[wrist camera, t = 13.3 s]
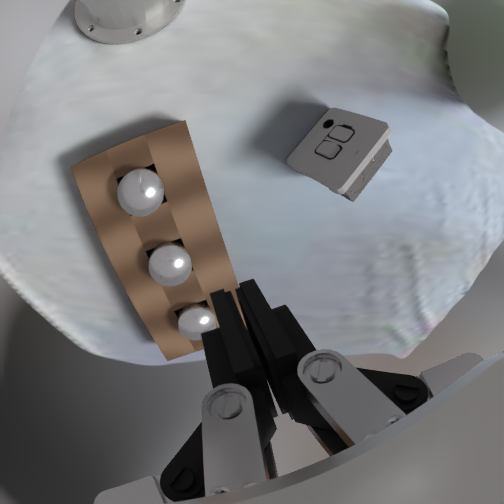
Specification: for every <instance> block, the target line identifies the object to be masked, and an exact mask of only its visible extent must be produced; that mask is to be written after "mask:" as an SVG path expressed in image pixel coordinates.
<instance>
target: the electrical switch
mask: <svg viewBox="0 0 504 504" xmlns="http://www.w3.org/2000/svg"><path fill="white" fill-rule="evenodd" d="M391 133H392V131H391V129H390V127H389V125H388V124H387V123H386V122H383V121H380V120H376V119H373V118H370V117H367V116H363V115H360V114H356V113H353V112H349V111H345V110H342V109H338V108H332V109H329V110H328V111H327V112H326V113H325V114H324V115H323V117H322V118H321V119H320V120H319V121H318V122H317V124H316V125H315V126H314V127H313V128H312V129H311V131H310V132H309V133H308V134H307V135H306V136H305V138H304V139H303V140H302V141H301V142H300V144H299V145H298V146H297V147H296V148H295V149H294V151H293V152H292V153H291V154H290V155H289V157H288V158H287V164H288V165H289V166H290V167H291V168H292V169H294V170H296V171H298V172H300V173H302V174H304V175H306V176H308V177H310V178H312V179H314V180H316V181H318V182H320V183H321V184H323V185H325V186H327V187H328V188H329V190H331V191H333V192H334V193H337V194H340V195H342V196H344V197H345V198H347V199H349V200H350V201H351V200H352V201H353V202H354V200H355V199H356V198H357V197H358V195H359V194H360V193H361V192H362V190H363V189H364V188H365V186H366V185H367V184H368V182H369V181H370V180H371V179H372V177H373V176H374V175H375V173H376V172H377V171H378V169H379V168H380V167H381V165H382V164H383V163H384V161H385V160H386V159H387V157H388V156H389V155H390V153H391V152H392V149H391V147H390V145H389V141H388V137H389V136H390V135H391ZM385 155H386V156H385ZM373 158H374V160H375V161H373ZM360 188H361V189H360ZM353 192H354V193H353ZM349 197H350V198H349Z"/></svg>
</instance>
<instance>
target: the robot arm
mask: <svg viewBox="0 0 504 504" xmlns="http://www.w3.org/2000/svg"><path fill="white" fill-rule="evenodd" d="M176 1H179V2H176ZM184 2H185V0H76V2H75V6H74V17H75V20H76V23H77V25H78V27H79V28H80V30H81V31H82V32H83V33H84V34H85V35H86V36H88V37H89V38H91V39H93V40H95V41H98V42H101V43H107V44H124V43H130V42H135V41H138V40H141V39H144V38H146V37H148V36H151V35H153V34H155V33H156V32H158V31H160V30H161V29H163V28H164V27H165V26H167V25H168V24H169V23H170V22H171V21H172V20H173V19H174V18H175V17H176V16H177V15H178V14H179V12H180V10H181V9H182V7H183V5H184ZM92 29H94V30H93V31H91V30H92ZM90 31H91V32H90ZM138 32H141V34H140V35H137V33H138ZM239 285H240V287H239V288H236V289H235V291H236V295H237V298H238V301H239V305H240V308H241V311H242V315H243V318H244V321H245V324H246V326H245V324H244V321H243V319H242V317H241V314H240V312H239V310H238V307H237V305H236V302H235V300H234V298H233V295H232V293H231V291H227V292H225V291H224V289H221V290H218V291H215V292H212V293H210V296H211V300H212V303H213V307H214V310H215V314H216V317H217V320H218V324H219V328H216V329H213V330H210V331H207V332H204V333H201V338H202V342H203V347H204V351H205V356H206V360H207V364H208V369H209V372H210V377H211V381H212V385H213V389H212V390H211V391H210V392H209V393H208V394H207V395H206V396H205V398H204V400H203V401H202V422H201V423H200V425H199V426H198V427H197V429H196V430H195V431H194V432H193V434H192V435H191V436H190V438H189V439H188V440H187V441H186V443H185V444H184V445H183V447H182V448H181V449H180V450H179V452H178V453H177V454H176V455H175V457H174V458H173V459H172V460H171V462H170V463H169V464H168V465H167V467H166V468H165V469H164V471H163V472H162V474H161V475H159V476H156V477H154V476H152V475H151V476H148V477H145V478H143V479H140V480H137V481H134V482H131V483H128V484H125V485H122V486H119V487H116V488H112V489H109V490H105V491H103V492H101V493H99V495H98V496H97V497H96V499H95V502H94V504H504V351H502V352H500V353H497V354H495V355H493V356H491V357H489V358H487V359H485V360H484V359H483V358H482V357H481V356H480V355H477V354H475V353H466V354H462V355H460V356H458V357H456V358H454V359H451V360H449V361H447V362H445V363H442V364H440V365H438V366H435V367H433V368H430V369H427V370H425V371H422V372H421V374H420V375H419V376H416V377H415V376H411V375H404V374H397V373H388V372H382V371H375V370H368V369H362V368H356V367H354V366H353V365H352V364H351V363H350V362H349V361H348V360H347V359H346V358H345V357H344V356H343V355H341V354H340V353H338V352H336V351H333V350H328V349H322V350H316V349H315V347H314V346H313V344H312V343H311V341H310V340H309V338H308V337H307V335H306V334H305V332H304V331H303V329H302V328H301V326H300V325H299V323H298V322H297V320H296V319H295V317H294V316H293V314H292V313H291V311H290V310H289V308H288V307H287V306H286V305H282V306H280V307H277V308H274V309H271V308H270V306H269V304H268V303H267V301H266V299H265V297H264V296H263V294H262V292H261V291H260V289H259V287H258V285H257V284H256V282H255V280H254V279H251V280H248V281H245V282H242V283H239ZM246 328H247V329H246ZM267 381H268V383H269V385H270V388H271V389H272V392H273V394H274V397H275V399H276V401H277V403H278V405H279V408H280V410H281V412H282V414H285V413H289V415H290V417H291V419H294V420H295V422H298V423H302V424H305V425H307V427H308V429H309V431H310V432H311V433H312V434H313V436H314V437H315V438H316V439H317V441H318V442H319V443H320V445H321V446H322V447H323V448H324V450H325V451H326V452H327V453H328V455H329V456H330V457H328V458H326V459H324V460H322V461H319V462H317V463H314V464H312V465H310V466H307V467H305V468H302V469H299V470H297V471H294V472H292V473H289V474H286V475H283V476H280V477H278V473H277V468H276V463H275V459H274V454H273V449H272V444H271V441H270V440H271V438H272V436H273V435H274V433H275V431H276V429H277V428H276V425H275V422H274V419H273V418H274V417H277V416H278V415H277V411H276V408H275V405H274V402H273V399H272V395H271V392H270V389H269V386H268V383H267Z"/></svg>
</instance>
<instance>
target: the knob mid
mask: <svg viewBox="0 0 504 504" xmlns="http://www.w3.org/2000/svg"><path fill="white" fill-rule="evenodd" d="M191 270H192V263H191V258H190V255H189V253H188V251H187V250H186V249H185V248H184V247H183V245H182V242H181V240H180V238H179V239H176V240H174V241H171V242H167V243H163V244H160V245H159V246H157V247H155V248H152V249H151V251H150V258H149V272H150V275H151V276H152V278H153V279H154V280H155V281H156V282H157V283H159V284H161V285H164V286H176V285H179V284H181V283H183V282H184V281H185V280H186V279H187V278H188V277H189V275H190V273H191Z"/></svg>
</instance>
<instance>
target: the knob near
mask: <svg viewBox="0 0 504 504" xmlns="http://www.w3.org/2000/svg"><path fill="white" fill-rule="evenodd" d="M117 196H118V201H119V203H120V205H121V207H122V208H123V209H124V210H125V211H126V212H127V213H129V214H131V215H133V216H147V215H149V214H151V213H153V212H154V211H156V210H157V209H158V208H159V206H160V205H161V203H162V200H163V196H164V185H163V182H162V180H161V178H160V177H159V175H158V174H157V173H156V172H155V169H154V166H151V167H148V168H138V169H134V170H132V171H130V172H129V173H127V174H126V175H125V176H124V177H123V179H122V180H121V182H120V184H119V186H118V191H117Z"/></svg>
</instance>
